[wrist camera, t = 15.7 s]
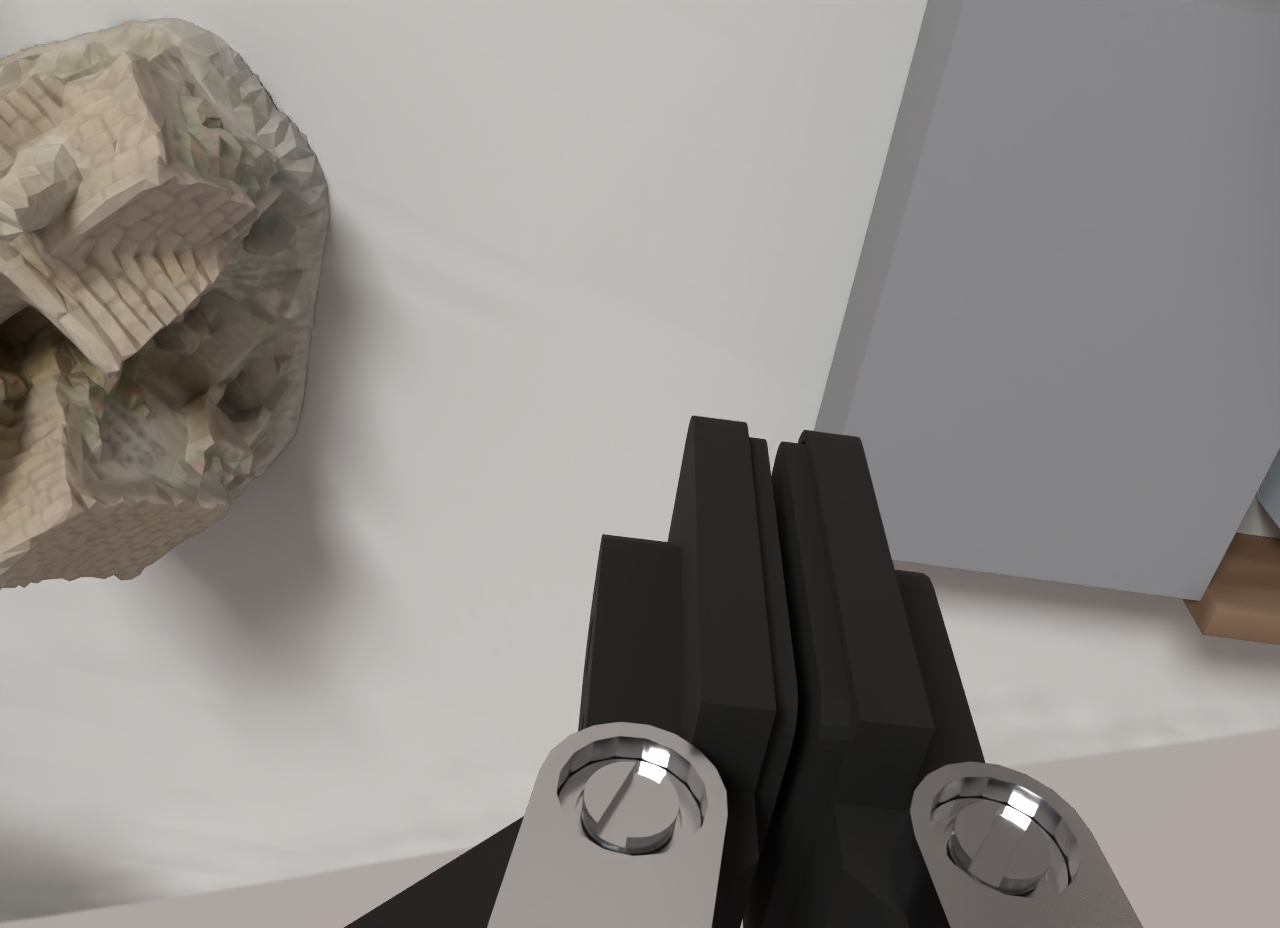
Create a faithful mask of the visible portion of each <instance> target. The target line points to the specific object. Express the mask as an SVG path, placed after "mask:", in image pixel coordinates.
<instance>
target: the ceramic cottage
mask: <svg viewBox="0 0 1280 928" xmlns="http://www.w3.org/2000/svg"><path fill="white" fill-rule="evenodd" d="M241 58H242V57H241V56H240V55H239V54H238V53H237V52H236V51H234V50H233V49H232V48H231V47H230V46H229V45H228V44H227V43H226V42H225V41H223V40H222V39H221V38H220V37H219V36H217V35H216V34H212V33H210V32H209V31H208V30H205V29H203V28H201V27H199V26H197V25H195V24H193V23H188V22H186V21H185V20H181V19H175V18H172V19H165V18H160V19H151V20H149V21H148V22H147V23H142V22H136V21H129V22H124V24H123V25H122V26H118V27H113V28H110V29H107V30H100V31H97V32H92V33H86V34H82V35H80V36H77V37H74V38H71V39H68V40H65V41H62V42H58V41H56V42H53V43H51V44H48V45H45V44H42V45H35V46H34V47H32V48H30V49H28V48H27V49H26V50H23V49H22V50H21V51H19V52H18V53H15V54H12V55H11V56H9V57H7V58H4V59H0V590H1V588H15V587H17V586H18V585H20V586H22V587H26V586H27V585H28V584H29V583H30V582H32V583H39V582H40V581H41V580H48V579H60V578H63V579H65V580H68V581H72V580H74V579H77V578H80V577H95V578H101V579H105V578H108V577H110V576H112V575H115V576H116V577H117V578H119V579H120V580H129V579H133V578H135V577H137V576H138V575H140V574H141V572H142V571H143V569H144V568H145V567H147V566H149V565H151V564H153V563H154V562H155V561H157V560H158V559H160V558H161V557H162V556H163V555H165V554H166V553H167V552H168V551H170V550H171V549H172V548H173V547H175V546H176V545H178V544H179V543H181V542H183V541H184V540H186V539H188V538H190V537H192V536H194V535H196V534H198V533H200V532H201V531H203V530H204V529H206V528H207V527H209V526H210V525H211V524H213V523H215V522H217V521H218V520H220V519H222V518H224V517H225V516H226V514H227V512H228V510H229V507H230V500H232V499H234V498H236V497H238V496H240V495H241V494H242V492H243V491H244V490H245V488H246V487H247V486H248V485H249V483H250V482H251V481H252V480H253V479H254V478H255V477H258V476H261V475H263V473H264V472H265V471H266V470H267V468H268V467H269V466H270V465H271V464H272V462H273V461H274V460H275V459H276V457H277V456H278V455H279V454H280V453H281V451H282V450H283V449H284V448H285V447H286V446H287V445H288V444H289V442H290V441H291V440H292V439H293V438H294V436H295V434H296V432H297V430H298V425H299V419H300V414H301V410H302V404H303V398H304V392H305V384H306V373H307V363H308V359H309V351H310V344H311V333H310V331H311V330H312V329H313V327H314V326H315V320H314V306H315V303H316V300H317V293H316V292H317V291H318V284H319V280H320V274H321V268H322V255H323V254H324V245H325V239H326V234H327V228H328V223H329V219H330V212H329V203H328V195H327V182H326V180H325V178H324V174H323V171H322V169H321V167H320V165H319V163H318V160H317V157H316V155H315V154H314V152H313V151H312V149H311V148H309V147H308V144H307V136H306V135H305V134H303V133H301V132H299V131H298V127H297V125H296V124H295V123H293V122H290V121H289V119H288V117H287V115H286V114H285V113H284V112H280V111H278V110H277V109H276V108H275V106H274V104H273V102H272V101H271V99H270V97H269V96H268V94H267V92H266V91H265V89H264V88H263V87H262V86H261V83H260V80H259V78H258V76H257V74H255V75H252V73H251V71H250V69H249V68H248V66H247V65H246V63H245V62H244V61H242V60H241Z"/></svg>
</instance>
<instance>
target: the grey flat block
mask: <svg viewBox="0 0 1280 928" xmlns="http://www.w3.org/2000/svg"><path fill="white" fill-rule="evenodd" d="M814 431H817V432H825V433H833V434H841V435H849V436H857V437H860V439H861V441H862V444H863V448H864V452H865V456H866V460H867V464H868V468H869V472H870V475H871V479H872V483H873V487H874V491H875V495H876V499H877V503H878V507H879V511H880V515H881V519H882V522H883V526H884V530H885V534H886V538H887V542H888V546H889V550H890V554H891V558H892V560H897V561H904V562H912V563H919V564H927V565H934V566H942V567H949V568H957V569H964V570H972V571H979V572H987V573H994V574H1002V575H1009V576H1017V577H1024V578H1032V579H1039V580H1047V581H1054V582H1062V583H1069V584H1077V585H1084V586H1092V587H1099V588H1107V589H1115V590H1122V591H1130V592H1137V593H1145V594H1152V595H1160V596H1167V597H1175V598H1182V599H1190V600H1197V601H1200V600H1201V598H1202V596H1203V595H1204V593H1205V591H1206V589H1207V587H1208V585H1209V583H1210V581H1211V579H1212V577H1213V575H1214V573H1215V572H1216V570H1217V568H1218V566H1219V564H1220V562H1221V560H1222V558H1223V556H1224V554H1225V552H1226V550H1227V549H1228V547H1229V545H1230V543H1231V541H1232V539H1233V537H1234V535H1235V533H1236V531H1237V529H1238V527H1239V526H1240V524H1241V522H1242V520H1243V518H1244V516H1245V514H1246V512H1247V510H1248V508H1249V506H1250V504H1251V503H1252V501H1253V499H1254V497H1255V495H1256V493H1257V491H1258V489H1259V487H1260V485H1261V483H1262V481H1263V480H1264V478H1265V476H1266V474H1267V472H1268V470H1269V468H1270V466H1271V464H1272V462H1273V460H1274V458H1275V457H1276V455H1277V453H1278V451H1279V449H1280V0H928V3H927V7H926V10H925V14H924V18H923V22H922V25H921V29H920V33H919V37H918V41H917V44H916V48H915V52H914V56H913V59H912V63H911V67H910V71H909V75H908V78H907V82H906V86H905V90H904V93H903V97H902V101H901V105H900V109H899V112H898V116H897V120H896V124H895V127H894V131H893V135H892V139H891V143H890V146H889V150H888V154H887V158H886V161H885V165H884V169H883V173H882V177H881V180H880V184H879V188H878V192H877V195H876V199H875V203H874V207H873V211H872V214H871V218H870V222H869V226H868V229H867V233H866V237H865V241H864V245H863V248H862V252H861V256H860V260H859V263H858V267H857V271H856V275H855V279H854V282H853V286H852V290H851V294H850V297H849V301H848V305H847V309H846V313H845V316H844V320H843V324H842V328H841V331H840V335H839V339H838V343H837V346H836V350H835V354H834V358H833V362H832V365H831V369H830V373H829V377H828V380H827V384H826V388H825V392H824V396H823V399H822V403H821V407H820V411H819V414H818V418H817V422H816V426H815V430H814Z"/></svg>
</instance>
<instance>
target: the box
mask: <svg viewBox="0 0 1280 928" xmlns="http://www.w3.org/2000/svg"><path fill="white" fill-rule="evenodd" d="M1183 601H1184V602H1185V604H1186V606H1187V608H1188V609H1189V611H1190V613H1191V615H1192V616H1193V618H1194V620H1195V622H1196V623H1197V625H1198V627H1199V629H1200V630H1201V632H1202V634H1203V635H1209V636H1217V637H1225V638H1232V639H1240V640H1247V641H1255V642H1263V643H1270V644H1278V645H1280V539H1276V538H1268V537H1261V536H1254V535H1247V534H1239V533H1235V535H1234V537H1233V539H1232V541H1231V543H1230V545H1229V547H1228V549H1227V550H1226V552H1225V554H1224V556H1223V558H1222V560H1221V562H1220V564H1219V566H1218V568H1217V570H1216V572H1215V573H1214V575H1213V577H1212V579H1211V581H1210V583H1209V585H1208V587H1207V589H1206V591H1205V593H1204V595H1203V596H1202V598H1201V600H1200V601H1197V600H1190V599H1183Z"/></svg>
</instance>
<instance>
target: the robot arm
mask: <svg viewBox="0 0 1280 928" xmlns="http://www.w3.org/2000/svg"><path fill="white" fill-rule="evenodd" d="M742 919H743V928H1143V926H1142V925H1141V923H1140V921H1139V919H1138V917H1137V915H1136V913H1135V912H1134V910H1133V908H1132V906H1131V904H1130V902H1129V901H1128V899H1127V897H1126V895H1125V893H1124V891H1123V889H1122V888H1121V886H1120V884H1119V882H1118V880H1117V878H1116V877H1115V875H1114V873H1113V871H1112V869H1111V867H1110V865H1109V864H1108V862H1107V860H1106V858H1105V857H1104V855H1103V853H1102V851H1101V849H1100V847H1099V845H1098V844H1097V841H1096V840H1095V838H1094V836H1093V834H1092V832H1091V831H1090V830H1089V828H1088V827H1087V825H1086V824H1085V823H1084V821H1083V820H1082V819H1081V817H1080V816H1079V815H1078V813H1077V812H1076V810H1075V809H1074V808H1073V807H1071V806H1070V805H1069V804H1068V803H1067V802H1066V801H1065V800H1063V799H1062V798H1061V797H1060V796H1059V795H1058V794H1057V793H1056V792H1054V791H1053V790H1052V789H1050V788H1049V787H1047V786H1045V785H1043V784H1041V783H1040V782H1038V781H1037V780H1035V779H1033V778H1031V777H1030V776H1028V775H1026V774H1023V773H1021V772H1017V771H1015V770H1012V769H1009V768H1006V767H1003V766H1000V765H996V764H988V763H985V760H984V757H983V753H982V750H981V746H980V743H979V740H978V736H977V733H976V730H975V726H974V723H973V719H972V716H971V713H970V709H969V706H968V702H967V699H966V696H965V692H964V689H963V685H962V682H961V679H960V675H959V672H958V668H957V665H956V662H955V658H954V655H953V651H952V648H951V645H950V641H949V638H948V634H947V631H946V628H945V624H944V621H943V618H942V614H941V611H940V607H939V604H938V601H937V597H936V594H935V590H934V587H933V585H932V583H931V581H930V578H929V577H928V576H926V575H925V574H924V573H917V572H908V571H900V570H894V566H893V562H892V558H891V554H890V550H889V546H888V542H887V538H886V534H885V530H884V526H883V522H882V519H881V515H880V511H879V507H878V503H877V499H876V495H875V491H874V487H873V483H872V479H871V475H870V472H869V468H868V464H867V460H866V456H865V452H864V448H863V444H862V441H861V439H860V437H857V436H849V435H841V434H833V433H825V432H817V431H809V430H804V431H803V432H802V434H801V436H800V438H799V441H798V443H790V442H783V441H782V442H781V443H780V445H779V448H778V451H777V454H776V458H775V463H774V467H773V471H772V476H771V471H770V463H769V455H768V447H767V442H766V440H765V439H759V438H751V437H749V434H748V426H747V423H745V422H739V421H731V420H723V419H715V418H707V417H699V416H692V417H691V420H690V423H689V428H688V433H687V438H686V443H685V449H684V454H683V460H682V465H681V471H680V477H679V482H678V488H677V493H676V499H675V504H674V510H673V515H672V521H671V526H670V532H669V538H668V542H662V541H653V540H645V539H637V538H629V537H621V536H612V535H604V534H603V535H602V539H601V545H600V551H599V558H598V565H597V572H596V579H595V586H594V593H593V600H592V608H591V615H590V623H589V631H588V640H587V648H586V657H585V666H584V676H583V686H582V696H581V707H580V717H579V728H578V732H576V733H574V734H571V735H569V736H568V737H567V738H566V739H564V740H563V741H562V742H561V743H560V744H558V745H557V746H556V747H555V748H554V749H552V750H551V751H550V753H549V755H548V756H547V758H546V760H545V762H544V763H543V765H542V767H541V769H540V770H539V773H538V776H537V779H536V782H535V785H534V788H533V791H532V794H531V797H530V800H529V803H528V806H527V809H526V812H525V815H524V816H523V817H522V818H520V819H519V820H517V821H515V822H514V823H512V824H510V825H509V826H507V827H506V828H504V829H502V830H501V831H499V832H498V833H496V834H494V835H493V836H491V837H489V838H488V839H486V840H485V841H483V842H481V843H480V844H478V845H477V846H475V847H473V848H472V849H470V850H468V851H467V852H465V853H464V854H462V855H460V856H459V857H457V858H456V859H454V860H452V861H451V862H449V863H448V864H446V865H444V866H443V867H441V868H439V869H438V870H436V871H435V872H433V873H431V874H430V875H428V876H427V877H425V878H424V879H422V880H420V881H418V882H417V883H415V884H414V885H412V886H411V887H409V888H407V889H406V890H404V891H402V892H401V893H399V894H397V895H396V896H395V897H393V898H391V899H389V900H388V901H386V902H385V903H383V904H381V905H380V906H378V907H376V908H375V909H373V910H372V911H370V912H369V913H367V914H365V915H364V916H362V917H360V918H359V919H357V920H356V921H354V922H353V923H351V924H349V925H348V926H346V927H344V928H740V926H741V922H742Z"/></svg>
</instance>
